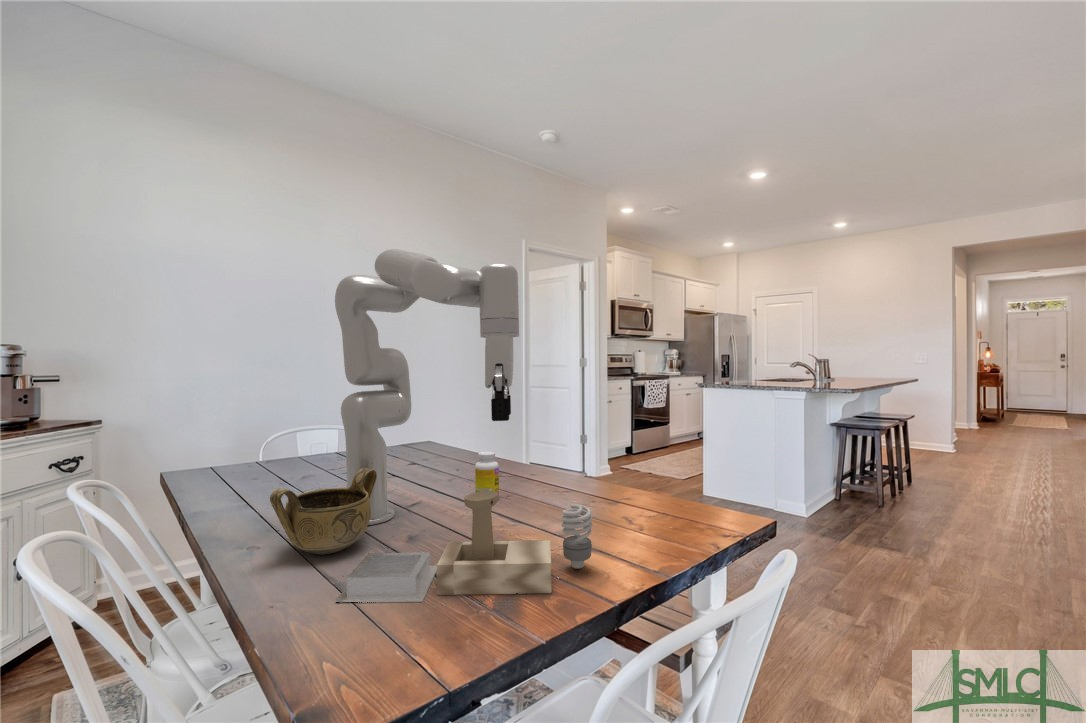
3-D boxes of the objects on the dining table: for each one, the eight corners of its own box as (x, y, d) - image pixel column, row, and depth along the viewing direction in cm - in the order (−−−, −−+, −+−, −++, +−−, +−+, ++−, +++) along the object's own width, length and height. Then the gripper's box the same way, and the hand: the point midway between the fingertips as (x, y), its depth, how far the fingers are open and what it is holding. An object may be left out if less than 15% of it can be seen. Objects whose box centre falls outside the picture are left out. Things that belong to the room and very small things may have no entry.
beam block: (437, 594, 83) (436, 564, 83) (449, 568, 94) (448, 541, 94) (551, 593, 83) (550, 563, 83) (550, 566, 94) (550, 540, 94)
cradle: (335, 603, 81) (335, 581, 81) (364, 569, 94) (364, 550, 94) (422, 601, 81) (421, 580, 81) (438, 568, 94) (438, 549, 94)
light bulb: (560, 563, 95) (559, 500, 95) (589, 562, 95) (588, 499, 95) (564, 576, 89) (563, 509, 89) (595, 575, 90) (594, 508, 90)
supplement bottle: (497, 501, 137) (497, 455, 137) (473, 502, 137) (473, 455, 137) (500, 495, 144) (499, 450, 144) (477, 495, 144) (476, 451, 144)
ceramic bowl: (352, 526, 118) (350, 463, 118) (399, 540, 109) (398, 471, 109) (253, 558, 100) (252, 483, 100) (300, 578, 90) (298, 495, 90)
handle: (505, 577, 90) (503, 493, 89) (480, 590, 84) (479, 502, 84) (485, 570, 92) (484, 489, 92) (460, 583, 87) (458, 497, 87)
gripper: (484, 332, 105) (486, 413, 105) (475, 326, 88) (478, 423, 88) (519, 331, 106) (521, 412, 105) (518, 325, 88) (520, 422, 88)
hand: (501, 417), depth 97 cm, fingers open, 9 cm apart
